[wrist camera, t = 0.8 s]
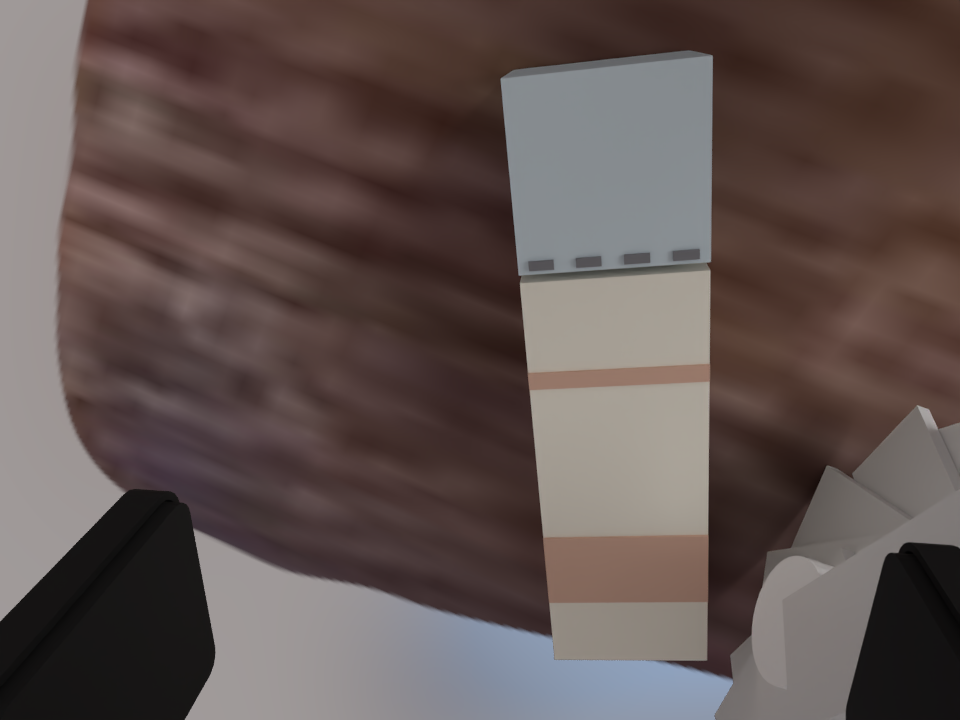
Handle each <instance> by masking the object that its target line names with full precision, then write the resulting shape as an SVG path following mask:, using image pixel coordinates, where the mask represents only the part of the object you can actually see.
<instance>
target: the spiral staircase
mask: <svg viewBox="0 0 960 720" xmlns="http://www.w3.org/2000/svg"><path fill="white" fill-rule="evenodd" d="M852 475H853V478H854V479H852V478H851V477H849V476H848V475H846V474H845V473H843V472H842V471H840V470H839V469H836V468H833V467H830V466H828V465H827V466H826V468H825V471H824V473H823V475H822V477H821V480H820V482H819V484H818V487H817V489H816V491H815V494H814V496H813V498H812V500H811V503H810V505H809V507H808V510H807V512H806V514H805V517H804V519H803V521H802V523H801V526H800V528H799V530H798V533H797V535H796V537H795V539H794V542H793V544H792V546H791V548H788V549H782V550H775V551H769V552H767V557H766V565H765V572H764V579H763V586H762V589H761V591H760V593H759V596H758V599H757V602H756V606H755V611H754V615H753V623H752V635H751V636H750V637H749V638H748V639H747V640H746V641H745V642H743V643H742V644H741V645H740V646H739V647H738V648H737V649H736V650H735V651H734V652H733V653H732V654H731V655H730V658H731V667H732V675H733V685H732V687H731V688H730V690H729V692H728V694H727V695H726V697H725V698H724V700H723V702H722V703H721V705H720V707H719V709H718V711H717V712H716V714H715V719H716V720H846V705H847V701H848V697H849V693H850V689H851V685H852V682H853V678H854V674H855V670H856V666H857V662H858V658H859V655H860V651H861V647H862V643H863V639H864V635H865V631H866V628H867V624H868V620H869V616H870V612H871V608H872V604H873V600H874V597H875V593H876V589H877V585H878V581H879V577H880V573H881V570H882V566H883V562H884V559H885V557H886V556H887V554H888V553H891V552H892V553H898V552H899V550H900V548H901V546H902V545H903V544H904V543H907V542H914V543H929V544H944V545H954V546H957V547H959V548H960V423H957V424H954V425H951V426H947V427H944V428H941V429H939V430H938V428H937V426H936V424H935V421H934V419H933V417H932V415H931V413H930V411H929V409H926V408H923V407H920V406H918V405H917V406H916V407H915V408H914V409H913V410H912V411H911V412H910V413H909V414H908V415H907V416H906V418H905V419H904V420H903V421H902V422H901V423H900V424H899V425H898V426H897V427H896V428H895V429H894V430H893V431H892V432H891V433H890V434H889V435H888V436H887V438H886V439H885V440H884V441H883V442H882V443H881V444H880V445H879V446H878V447H877V448H876V449H875V450H874V451H873V452H872V453H871V454H870V455H869V456H868V457H867V459H866V460H865V461H864V462H863V463H862V464H861V465H860V466H859V467H858V468H857V469H856V470H855V471H854V472H853V473H852Z"/></svg>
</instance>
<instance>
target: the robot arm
mask: <svg viewBox="0 0 960 720" xmlns="http://www.w3.org/2000/svg"><path fill="white" fill-rule="evenodd" d="M214 660H215V645H214V639H213V633H212V628H211V623H210V617H209V612H208V606H207V601H206V596H205V591H204V585H203V580H202V574H201V569H200V564H199V558H198V553H197V547H196V542H195V536H194V531H193V526H192V520H191V515H190V511H189V508H188V506H187V505H186V504H184V503H179V500H178V497H177V496H176V495H175V493H172V492H169V491H155V490H140V489H133V490H129V491H128V492H126V493H125V494H124V495H123V496H122V497H121V498H120V499H119V500H118V501H117V502H116V503H115V504H114V505H113V506H112V507H111V508H110V509H109V510H108V511H107V512H106V513H105V514H104V515H103V516H102V518H101V519H100V520H99V521H98V522H97V523H96V524H95V525H94V526H93V527H92V528H91V529H90V530H89V531H88V532H87V533H86V534H85V535H84V536H83V537H82V538H81V539H80V540H79V541H78V542H77V543H76V544H75V545H74V546H73V548H71V549H70V550H69V552H67V554H66V555H65V556H64V557H63V558H62V559H61V560H60V561H59V562H58V563H57V564H56V565H55V566H54V567H53V568H52V569H51V570H50V571H49V572H48V573H47V574H46V575H45V576H44V577H43V579H41V580H40V581H39V582H38V583H37V584H36V585H35V586H34V588H32V590H31V591H30V592H29V593H28V594H27V595H26V596H25V597H24V598H23V599H22V600H21V601H20V602H19V603H18V604H17V605H16V606H15V607H14V608H13V609H12V610H11V611H10V612H9V613H8V614H7V615H6V616H5V617H4V618H3V620H2V621H0V720H185V718H186V716H187V715H188V713H189V711H190V709H191V708H192V706H193V704H194V702H195V701H196V699H197V697H198V695H199V693H200V692H201V690H202V688H203V687H204V685H205V683H206V681H207V679H208V678H209V676H210V674H211V671H212V668H213V665H214ZM846 720H960V548H959V547H957V546H954V545H944V544H929V543H914V542H907V543H904V544H903V545H902V546H901V548H900V550H899V552H898V553H892V552H891V553H888V554H887V556H886V557H885V559H884V562H883V566H882V570H881V573H880V577H879V581H878V585H877V589H876V593H875V597H874V600H873V604H872V608H871V612H870V616H869V620H868V624H867V628H866V631H865V635H864V639H863V643H862V647H861V651H860V655H859V658H858V662H857V666H856V670H855V674H854V678H853V682H852V685H851V689H850V693H849V697H848V701H847V705H846Z"/></svg>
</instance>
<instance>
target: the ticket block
mask: <svg viewBox="0 0 960 720" xmlns="http://www.w3.org/2000/svg"><path fill="white" fill-rule="evenodd" d="M520 291H521V302H522V313H523V324H524V334H525V345H526V356H527V367H528V381H529V390H530V399H531V410H532V421H533V432H534V443H535V453H536V464H537V475H538V486H539V497H540V507H541V518H542V529H543V543H544V553H545V564H546V575H547V586H548V597H549V605H550V615H551V626H552V637H553V648H554V659H555V660H680V661H707V613H708V546H709V536H708V493H709V382H710V269H709V267H708V265H707V263H706V262H705V263H691V264H677V265H662V266H648V267H634V268H620V269H606V270H591V271H577V272H563V273H549V274H535V275H522V276H521V280H520Z"/></svg>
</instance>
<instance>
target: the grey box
mask: <svg viewBox="0 0 960 720" xmlns="http://www.w3.org/2000/svg"><path fill="white" fill-rule="evenodd" d="M712 82H713V55H709V54H704V53H699V52H695V51H690V50H687V51H678V52H669V53H660V54H651V55H642V56H633V57H624V58H615V59H606V60H597V61H588V62H579V63H570V64H561V65H552V66H543V67H534V68H525V69H516V70H513V71H511V72H510V73H508V74H507V75H505V76H504V77H502V78H501V89H502V100H503V111H504V122H505V133H506V143H507V154H508V165H509V176H510V187H511V197H512V208H513V219H514V230H515V240H516V251H517V262H518V273H519V276H520V275H535V274H549V273H563V272H577V271H591V270H606V269H620V268H634V267H648V266H662V265H677V264H691V263H705V262H711V198H712Z"/></svg>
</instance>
